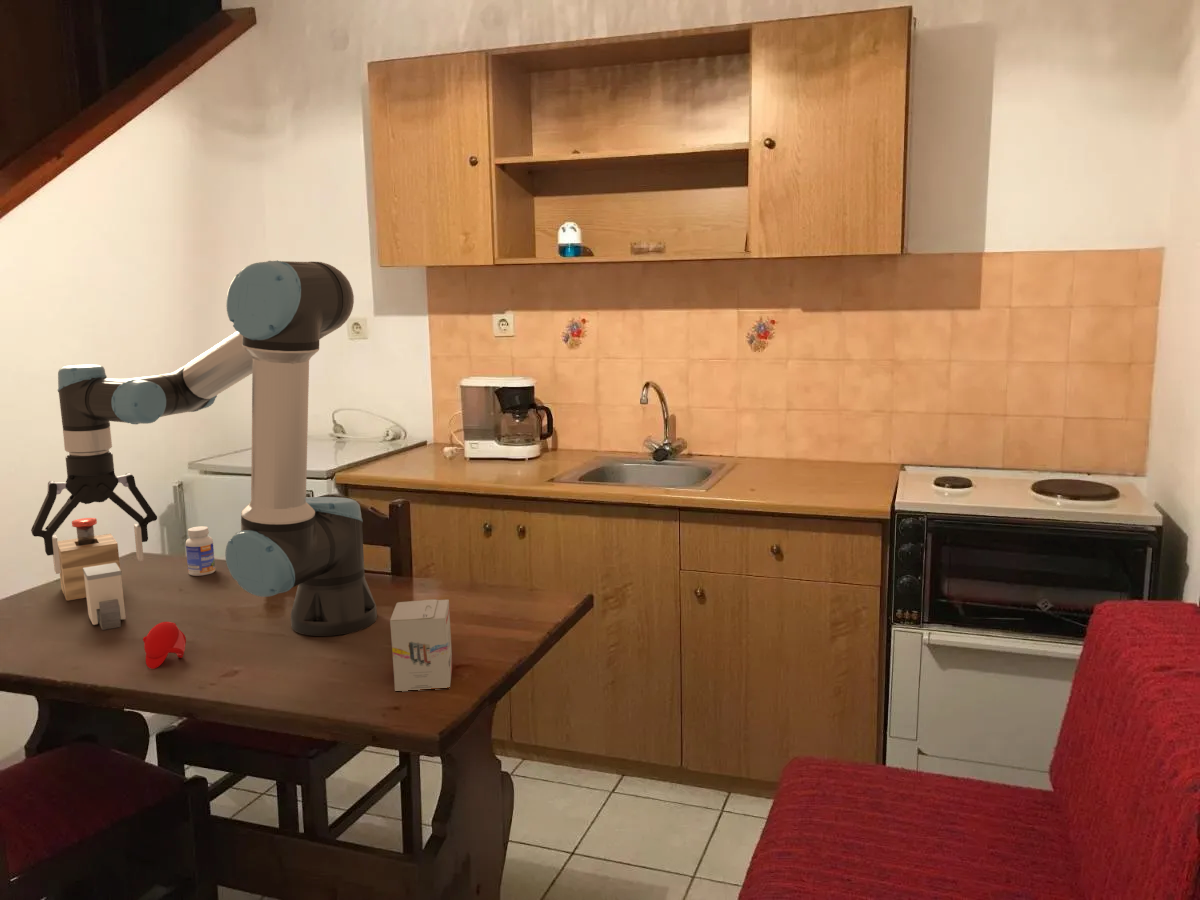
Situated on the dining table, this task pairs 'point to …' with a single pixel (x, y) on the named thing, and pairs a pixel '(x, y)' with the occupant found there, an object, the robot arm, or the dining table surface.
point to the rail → (108, 614)
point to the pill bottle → (200, 552)
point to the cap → (163, 643)
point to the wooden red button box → (83, 562)
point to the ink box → (421, 645)
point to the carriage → (103, 588)
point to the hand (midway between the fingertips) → (99, 565)
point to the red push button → (85, 530)
